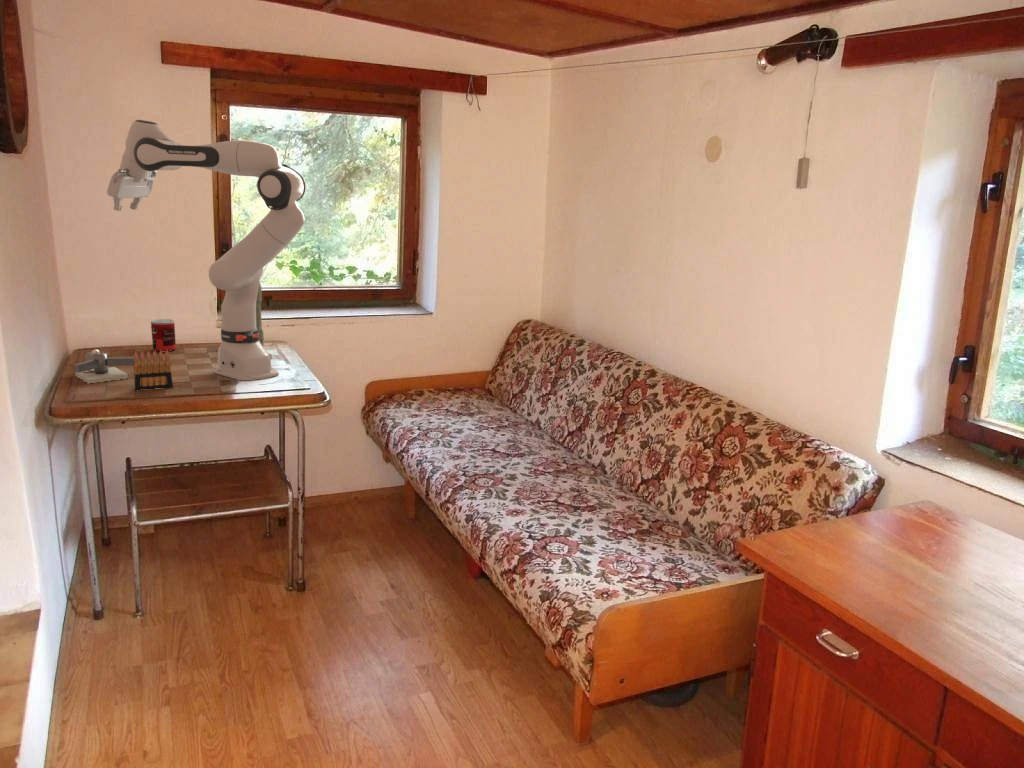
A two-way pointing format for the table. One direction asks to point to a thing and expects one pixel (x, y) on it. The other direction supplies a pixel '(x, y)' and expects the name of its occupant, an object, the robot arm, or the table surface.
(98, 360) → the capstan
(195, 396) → the table surface
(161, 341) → the canned food
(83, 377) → the stand plate
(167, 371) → the ammunition clip
